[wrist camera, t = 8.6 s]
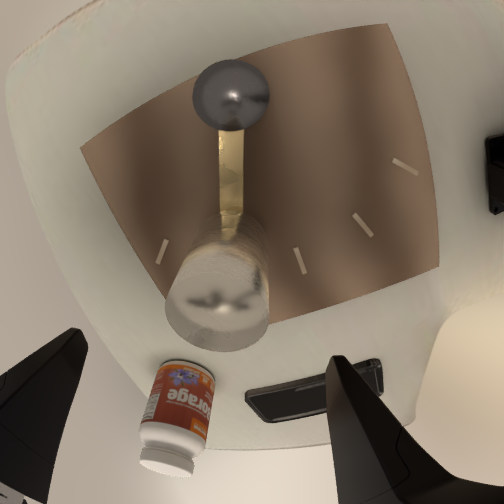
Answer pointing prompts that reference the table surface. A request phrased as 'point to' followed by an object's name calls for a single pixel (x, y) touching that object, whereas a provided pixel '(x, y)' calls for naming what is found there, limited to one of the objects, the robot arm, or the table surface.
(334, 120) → the wooden serving board
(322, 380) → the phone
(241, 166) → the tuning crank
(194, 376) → the pill bottle
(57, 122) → the table surface
